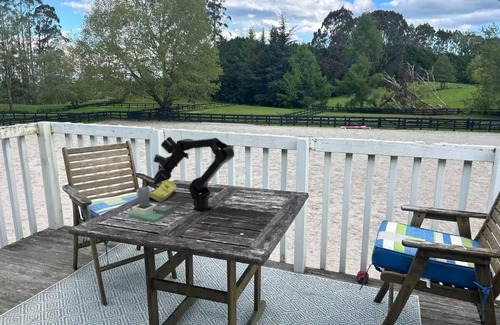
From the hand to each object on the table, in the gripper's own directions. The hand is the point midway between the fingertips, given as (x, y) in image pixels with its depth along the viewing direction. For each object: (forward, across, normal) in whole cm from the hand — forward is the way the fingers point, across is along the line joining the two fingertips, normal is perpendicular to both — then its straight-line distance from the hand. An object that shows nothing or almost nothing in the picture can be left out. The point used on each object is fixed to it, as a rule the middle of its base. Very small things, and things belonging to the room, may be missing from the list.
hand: (154, 181), depth 188 cm
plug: (+12, +9, +5) cm, 16 cm away
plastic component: (+8, -17, +12) cm, 22 cm away
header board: (+11, +11, +8) cm, 17 cm away
